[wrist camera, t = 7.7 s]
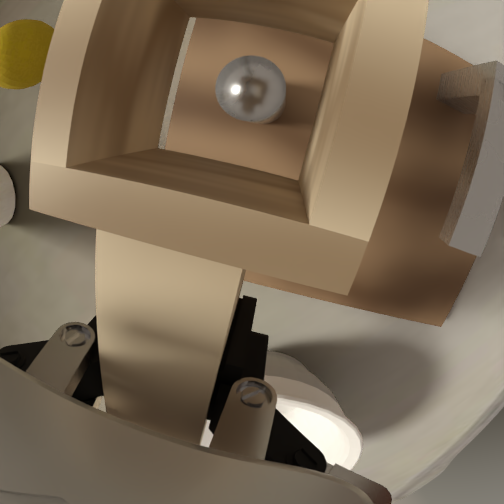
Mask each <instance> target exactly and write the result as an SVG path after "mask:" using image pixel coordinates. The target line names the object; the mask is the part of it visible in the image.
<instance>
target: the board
mask: <svg viewBox="0 0 504 504" xmlns="http://www.w3.org/2000/svg"><path fill="white" fill-rule="evenodd" d="M333 45H334V43H331V42H328V41H325V40H321V39H317V38H314V37H310V36H306V35H302V34H298V33H294V32H289V31H285V30H280V29H275V28H270V27H265V26H259V25H253V24H247V23H241V22H234V21H226V20H217V19H207V18H196V22H195V25H194V28H193V32H192V35H191V39H190V42H189V46H188V50H187V53H186V57H185V61H184V65H183V69H182V73H181V77H180V81H179V85H178V89H177V93H176V98H175V102H174V107H173V111H172V116H171V121H170V126H169V131H168V136H167V141H166V146H165V150H170V151H175V152H181V153H186V154H190V155H195V156H200V157H205V158H209V159H214V160H218V161H223V162H227V163H231V164H236V165H240V166H244V167H248V168H252V169H256V170H260V171H264V172H268V173H272V174H276V175H280V176H284V177H287V178H291V179H295V180H298V179H299V175H300V172H301V168H302V164H303V161H304V157H305V153H306V150H307V146H308V142H309V138H310V135H311V131H312V127H313V123H314V120H315V116H316V112H317V108H318V104H319V100H320V96H321V93H322V89H323V85H324V81H325V77H326V73H327V69H328V65H329V61H330V57H331V53H332V49H333ZM249 55H254V56H260V57H263V58H266V59H268V60H270V61H272V62H273V63H274V64H275V65H276V66H277V67H278V68H279V69H280V70H281V72H282V74H283V76H284V78H285V82H286V102H285V109H284V111H283V113H282V115H281V116H280V117H279V118H278V119H277V120H275V121H273V122H271V123H267V124H258V123H253V122H248V121H242V120H239V119H236V118H234V117H232V116H230V115H229V114H227V113H226V112H225V111H224V110H223V109H222V107H221V106H220V104H219V103H218V100H217V97H216V92H215V85H216V80H217V77H218V75H219V73H220V72H221V70H222V69H223V68H224V67H225V66H226V65H227V64H228V63H229V62H231V61H232V60H234V59H236V58H239V57H242V56H249ZM470 66H473V65H472V64H470V63H468V62H467V61H465V60H463V59H462V58H460V57H458V56H456V55H455V54H453V53H451V52H449V51H447V50H445V49H444V48H442V47H440V46H438V45H436V44H434V43H432V42H430V41H428V40H426V39H424V38H423V44H422V49H421V55H420V60H419V66H418V71H417V76H416V81H415V85H414V90H413V94H412V99H411V103H410V107H409V111H408V116H407V120H406V123H405V127H404V131H403V135H402V139H401V142H400V146H399V150H398V153H397V157H396V160H395V164H394V167H393V170H392V174H391V177H390V180H389V183H388V186H387V190H386V193H385V196H384V199H383V202H382V205H381V208H380V211H379V214H378V217H377V220H376V223H375V225H374V228H373V231H372V234H371V237H370V239H369V242H368V245H367V247H366V250H365V253H364V255H363V258H362V261H361V263H360V266H359V268H358V271H357V273H356V276H355V278H354V281H353V283H352V286H351V288H350V291H349V293H348V295H343V294H339V293H335V292H331V291H327V290H323V289H319V288H315V287H311V286H307V285H303V284H299V283H295V282H291V281H287V280H283V279H279V278H275V277H271V276H268V275H264V274H260V273H256V272H252V271H248V270H246V272H245V276H244V281H248V282H252V283H255V284H259V285H263V286H267V287H271V288H275V289H279V290H283V291H287V292H291V293H295V294H299V295H303V296H307V297H311V298H316V299H320V300H324V301H328V302H332V303H337V304H341V305H345V306H349V307H354V308H358V309H362V310H367V311H371V312H375V313H380V314H384V315H389V316H393V317H398V318H402V319H407V320H411V321H416V322H421V323H425V324H430V325H435V326H440V327H441V326H442V324H443V323H444V321H445V319H446V317H447V315H448V313H449V312H450V310H451V308H452V306H453V304H454V302H455V300H456V298H457V296H458V294H459V292H460V290H461V288H462V286H463V284H464V282H465V280H466V278H467V276H468V274H469V272H470V270H471V267H472V265H473V263H474V261H475V258H476V256H475V255H473V254H470V253H467V252H465V251H462V250H459V249H457V248H454V247H451V246H449V245H447V244H446V243H445V242H444V241H443V240H442V239H440V238H439V235H440V232H441V230H442V227H443V225H444V222H445V219H446V216H447V214H448V211H449V208H450V205H451V202H452V199H453V196H454V193H455V190H456V187H457V184H458V181H459V178H460V175H461V171H462V168H463V164H464V161H465V157H466V154H467V150H468V146H469V142H470V138H471V134H472V130H473V126H474V121H475V117H476V114H463V113H461V112H460V111H458V110H456V109H454V108H452V107H450V106H448V105H446V104H444V103H442V102H440V101H438V100H436V98H437V94H438V89H439V84H440V79H441V74H442V73H446V72H450V71H454V70H458V69H462V68H466V67H470Z"/></svg>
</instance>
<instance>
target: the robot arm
mask: <svg viewBox="0 0 504 504" xmlns="http://www.w3.org/2000/svg"><path fill="white" fill-rule="evenodd" d="M256 302H257V299H256V298H252V297H248V296H245V295H243V299H242V298H239V299H238V302H237V306H236V309H235V313H234V316H233V320H232V323H231V327H230V330H229V334H228V338H227V341H226V345H225V348H224V352H223V355H222V359H221V363H220V366H219V370H218V374H217V378H216V382H215V386H214V390H213V394H212V398H211V402H210V406H209V410H208V415H207V420H211V421H210V424H209V428H208V429H209V430H210V431H211V432H212V434H213V438H212V440H211V443H210V445H209V447H205V446H201V445H197V444H194V443H190V442H187V441H184V440H180V439H177V438H174V437H171V436H167V435H164V434H161V433H158V432H155V431H152V430H150V429H147V428H144V427H141V426H138V425H136V424H133V423H130V422H128V421H125V420H123V419H120V418H118V417H115V416H113V415H110V414H108V413H106V412H103V411H101V410H99V409H98V407H99V405H100V402H101V399H102V396H104V392H103V385H102V377H101V368H100V358H99V347H98V335H97V318H96V316H95V317H94V318H93V319H92V320H91V321H90V322H89V324H88V325H86V324H84V323H80V322H70V323H66V324H64V325H62V326H60V327H59V328H58V329H57V330H56V332H55V333H54V334H53V336H52V337H51V338H50V339H49V340H46V341H40V342H33V343H26V344H18V345H11V346H6V347H3V348H2V349H0V504H391V502H392V498H391V494H390V492H389V491H388V490H387V488H385V487H384V486H382V485H380V484H378V483H376V482H374V481H371V480H369V479H367V478H365V477H363V476H361V475H359V474H356V473H354V472H352V471H350V470H348V469H346V468H344V467H342V466H340V465H338V464H336V463H335V464H334V465H331V464H329V463H328V462H326V459H325V456H324V455H323V453H322V452H321V451H320V450H319V449H318V448H317V447H316V446H315V445H314V444H313V443H312V442H310V441H309V440H308V439H307V438H306V437H305V436H304V435H303V434H302V433H301V432H300V431H299V430H298V429H297V428H296V427H295V426H294V425H292V424H291V423H290V422H289V421H288V420H287V419H286V418H285V417H284V416H283V415H282V414H281V413H280V412H279V411H278V410H277V409H276V404H277V394H276V391H275V390H274V388H273V387H272V386H271V385H270V384H268V383H267V382H266V381H264V375H265V366H266V357H267V347H268V335H265V334H261V333H257V332H253V331H251V329H252V324H253V318H254V313H255V307H256Z"/></svg>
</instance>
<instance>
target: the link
mask: <svg viewBox="0 0 504 504" xmlns="http://www.w3.org/2000/svg"><path fill="white" fill-rule="evenodd" d="M428 2H429V0H64V2H63V5H62V8H61V11H60V14H59V17H58V20H57V23H56V26H55V29H54V33H53V36H52V40H51V43H50V47H49V51H48V54H47V59H46V63H45V67H44V71H43V76H42V81H41V86H40V91H39V97H38V103H37V109H36V116H35V123H34V131H33V140H32V151H31V164H30V185H29V209H30V210H34V211H37V212H40V213H44V214H47V215H50V216H54V217H57V218H61V219H64V220H67V221H71V222H74V223H78V224H81V225H85V226H88V227H92V228H95V229H96V256H95V290H96V318H97V335H98V347H99V358H100V368H101V377H102V385H103V392H104V399H105V405H106V412H107V413H108V414H110V415H113V416H115V417H118V418H120V419H123V420H125V421H128V422H130V423H133V424H136V425H138V426H141V427H144V428H147V429H150V430H152V431H155V432H158V433H161V434H164V435H167V436H171V437H174V438H177V439H180V440H184V441H187V442H190V443H194V444H197V445H201V442H202V438H203V434H204V431H205V427H206V423H207V415H208V410H209V406H210V402H211V398H212V394H213V390H214V386H215V382H216V378H217V374H218V370H219V366H220V363H221V359H222V355H223V352H224V348H225V345H226V341H227V338H228V334H229V330H230V327H231V323H232V320H233V316H234V313H235V309H236V306H237V302H238V299H239V295H240V291H241V287H242V284H243V280H244V276H245V272H246V270H248V271H252V272H256V273H260V274H264V275H268V276H271V277H275V278H279V279H283V280H287V281H291V282H295V283H299V284H303V285H307V286H311V287H315V288H319V289H323V290H327V291H331V292H335V293H339V294H343V295H348V293H349V291H350V288H351V286H352V283H353V281H354V278H355V276H356V273H357V271H358V268H359V266H360V263H361V261H362V258H363V255H364V253H365V250H366V247H367V245H368V242H369V239H370V237H371V234H372V231H373V228H374V225H375V223H376V220H377V217H378V214H379V211H380V208H381V205H382V202H383V199H384V196H385V193H386V190H387V186H388V183H389V180H390V177H391V174H392V170H393V167H394V164H395V160H396V157H397V153H398V150H399V146H400V142H401V139H402V135H403V131H404V127H405V123H406V120H407V116H408V111H409V107H410V103H411V99H412V94H413V90H414V85H415V81H416V76H417V71H418V66H419V60H420V55H421V49H422V44H423V38H424V31H425V25H426V17H427V10H428ZM190 17H196V18H207V19H217V20H226V21H234V22H241V23H247V24H253V25H259V26H265V27H270V28H275V29H280V30H285V31H289V32H294V33H298V34H302V35H306V36H310V37H314V38H317V39H321V40H325V41H328V42H331V43H334V45H333V49H332V53H331V57H330V61H329V65H328V69H327V73H326V77H325V81H324V85H323V89H322V93H321V96H320V100H319V104H318V108H317V112H316V116H315V120H314V123H313V127H312V131H311V135H310V138H309V142H308V146H307V150H306V153H305V157H304V161H303V164H302V168H301V172H300V175H299V179H298V180H295V179H291V178H287V177H284V176H280V175H276V174H272V173H268V172H264V171H260V170H256V169H252V168H248V167H244V166H240V165H236V164H231V163H227V162H223V161H218V160H214V159H209V158H205V157H200V156H195V155H190V154H186V153H181V152H175V151H170V150H165V149H160V148H158V144H159V138H160V133H161V128H162V123H163V118H164V114H165V109H166V105H167V100H168V96H169V91H170V87H171V83H172V79H173V75H174V71H175V67H176V63H177V59H178V56H179V52H180V48H181V45H182V41H183V38H184V35H185V31H186V28H187V25H188V21H189V18H190Z"/></svg>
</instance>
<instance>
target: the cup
mask: <svg viewBox="0 0 504 504" xmlns="http://www.w3.org/2000/svg"><path fill="white" fill-rule="evenodd" d="M14 210H15V191H14V187H13V182H12V180H11V178H10V176H9V174H8V172H7V171H6V170H5V169H4V168H3V167H2V166H1V165H0V227H1V226H3V225H4V224H7V223H8V222H9V221H10V220H11V218H12V217H13V213H14Z"/></svg>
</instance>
